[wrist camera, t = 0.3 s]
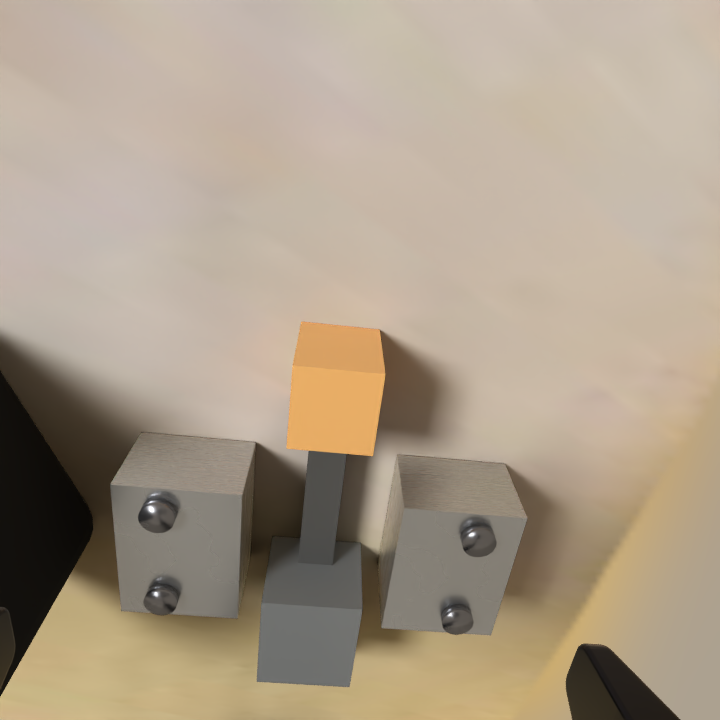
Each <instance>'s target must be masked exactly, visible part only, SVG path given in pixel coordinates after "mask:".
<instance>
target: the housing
mask: <svg viewBox="0 0 720 720" xmlns="http://www.w3.org/2000/svg"><path fill="white" fill-rule="evenodd" d="M255 449H256V442H247V441H235V440H224V439H212V438H201V437H190V436H178V435H167V434H155V433H144V432H141V434H140V435H139V437H138V439H137V440H136V442H135V444H134V445H133V447H132V449H131V450H130V452H129V454H128V455H127V457H126V459H125V460H124V462H123V464H122V465H121V467H120V469H119V470H118V472H117V474H116V475H115V477H114V479H113V480H112V482H111V484H110V489H111V500H112V512H113V523H114V534H115V546H116V557H117V568H118V580H119V591H120V602H121V611H130V612H145V613H153V614H156V615H167V614H175V615H190V616H206V617H221V618H236V619H238V615H239V610H240V605H241V600H242V595H243V590H244V586H245V581H246V576H247V571H248V566H249V562H250V556H251V535H252V513H253V492H254V470H255ZM526 522H527V516H526V513H525V511H524V509H523V506H522V504H521V501H520V499H519V497H518V494H517V492H516V489H515V487H514V484H513V482H512V480H511V477H510V475H509V472H508V470H507V468H506V465H505V464H499V463H488V462H476V461H465V460H453V459H442V458H430V457H419V456H408V455H397V458H396V464H395V470H394V475H393V481H392V487H391V493H390V498H389V504H388V510H387V515H386V521H385V527H384V532H383V538H382V544H381V549H380V555H379V561H378V582H379V598H380V614H381V628H387V629H402V630H418V631H433V632H448V633H450V634H455V635H458V634H478V635H491V633H492V630H493V627H494V624H495V620H496V617H497V614H498V611H499V608H500V605H501V601H502V598H503V595H504V592H505V589H506V585H507V582H508V579H509V576H510V573H511V569H512V566H513V563H514V560H515V557H516V553H517V550H518V547H519V544H520V541H521V537H522V534H523V531H524V528H525V525H526Z"/></svg>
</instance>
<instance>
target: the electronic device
mask: <svg viewBox="0 0 720 720" xmlns="http://www.w3.org/2000/svg"><path fill="white" fill-rule="evenodd" d="M92 531H93V519H92V515H91V513H90V510H89V508H88V506H87V504H86V503H85V501H84V500H83V498H82V496H81V495H80V493H79V492H78V490H77V489H76V487H75V486H74V484H73V483H72V481H71V479H70V478H69V476H68V475H67V473H66V472H65V470H64V469H63V467H62V466H61V464H60V462H59V461H58V459H57V458H56V456H55V455H54V453H53V452H52V450H51V449H50V447H49V446H48V444H47V442H46V441H45V439H44V438H43V436H42V435H41V433H40V432H39V430H38V429H37V427H36V425H35V424H34V422H33V421H32V419H31V418H30V416H29V415H28V413H27V412H26V410H25V408H24V407H23V405H22V404H21V402H20V401H19V399H18V398H17V396H16V395H15V393H14V392H13V390H12V388H11V387H10V385H9V384H8V382H7V381H6V379H5V378H4V376H3V375H2V373H1V371H0V607H5V608H6V609H7V610H8V611H9V614H10V619H11V624H12V629H13V634H14V639H15V653H14V657H13V660H12V663H11V665H10V667H9V670H8V672H7V675H6V677H5V679H4V682H3V684H2V686H1V689H0V696H1V694H2V693H3V691H4V689H5V687H6V686H7V684H8V682H9V680H10V679H11V677H12V675H13V673H14V672H15V670H16V668H17V666H18V665H19V663H20V661H21V659H22V658H23V656H24V654H25V652H26V651H27V649H28V647H29V645H30V644H31V642H32V640H33V638H34V637H35V635H36V633H37V631H38V630H39V628H40V626H41V624H42V623H43V621H44V619H45V617H46V616H47V614H48V612H49V610H50V609H51V607H52V605H53V603H54V601H55V600H56V598H57V596H58V594H59V593H60V591H61V589H62V587H63V586H64V584H65V582H66V580H67V579H68V577H69V575H70V573H71V572H72V570H73V568H74V566H75V565H76V563H77V561H78V559H79V558H80V556H81V554H82V552H83V551H84V549H85V547H86V545H87V544H88V542H89V540H90V537H91V534H92Z"/></svg>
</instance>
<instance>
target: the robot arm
mask: <svg viewBox="0 0 720 720" xmlns="http://www.w3.org/2000/svg"><path fill="white" fill-rule="evenodd" d="M14 653H15V639H14V634H13V629H12V624H11V619H10V614H9V611H8V610H7V609H6V608H5V607H0V689H1V686H2V684H3V682H4V679H5V677H6V675H7V672H8V670H9V667H10V665H11V663H12V660H13V657H14ZM566 692H567V697H568V702H569V706H570V711H571V715H572V720H680V719H679V718H678V717H677V716H676V715H675V714H674V713H673V712H672V711H671V710H670V709H669V708H668V707H667V706H666V705H665V704H664V703H663V702H662V701H661V700H660V699H659V698H658V697H657V696H656V695H655V694H654V693H653V692H652V691H651V690H650V689H649V688H648V687H647V686H646V685H645V684H644V683H643V682H642V681H641V679H640V678H639V677H638V676H637V675H636V674H635V673H634V672H633V671H632V670H631V669H630V668H628V666H627V665H626V664H625V663H624V662H623V661H622V660H621V659H620V658H619V657H618V656H617V655H616V654H615V653H614V652H613V651H612V650H611V649H609V648H608V647H606V646H604V645H599V644H581V645H580V646H579V647H578V649H577V651H576V654H575V656H574V659H573V661H572V664H571V667H570V669H569V671H568V674H567V678H566Z"/></svg>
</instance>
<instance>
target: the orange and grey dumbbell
mask: <svg viewBox="0 0 720 720" xmlns="http://www.w3.org/2000/svg"><path fill="white" fill-rule="evenodd" d="M384 381H385V366H384V359H383V351H382V343H381V336H380V330H378V329H368V328H359V327H349V326H339V325H329V324H320V323H310V322H301V326H300V331H299V336H298V341H297V346H296V351H295V356H294V361H293V368H292V382H291V395H290V409H289V422H288V435H287V449H297V450H308V451H309V453H308V464H307V474H306V485H305V495H304V506H303V516H302V527H301V538H291V537H278V536H273V537H272V543H271V549H270V555H269V561H268V567H267V573H266V579H265V585H264V591H263V597H262V603H261V619H260V636H259V652H258V669H257V682H271V683H288V684H305V685H322V686H339V687H350V681H351V675H352V669H353V663H354V657H355V651H356V645H357V639H358V634H359V628H360V622H361V616H362V573H361V543H356V542H343V541H335V540H336V533H337V525H338V517H339V510H340V502H341V494H342V487H343V479H344V471H345V464H346V456H347V454H354V455H366V456H373V452H374V446H375V439H376V433H377V426H378V420H379V413H380V407H381V400H382V394H383V387H384Z"/></svg>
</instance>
